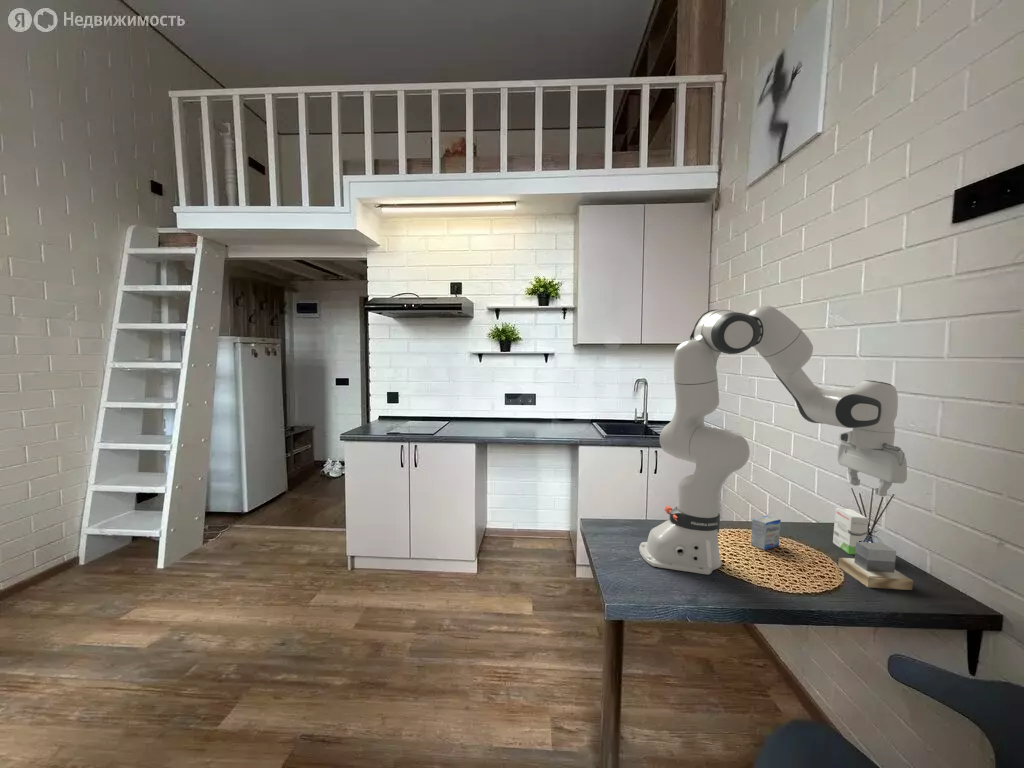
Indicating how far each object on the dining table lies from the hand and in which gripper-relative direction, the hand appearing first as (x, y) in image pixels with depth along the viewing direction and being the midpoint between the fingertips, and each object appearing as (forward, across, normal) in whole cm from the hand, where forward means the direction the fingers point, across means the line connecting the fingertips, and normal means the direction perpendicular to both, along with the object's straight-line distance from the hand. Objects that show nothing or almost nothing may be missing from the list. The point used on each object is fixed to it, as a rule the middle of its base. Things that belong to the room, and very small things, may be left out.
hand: (867, 490), depth 116 cm
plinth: (+24, -2, -2) cm, 24 cm away
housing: (+21, -2, -2) cm, 21 cm away
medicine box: (+24, +15, +18) cm, 33 cm away
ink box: (+24, +16, -8) cm, 30 cm away
